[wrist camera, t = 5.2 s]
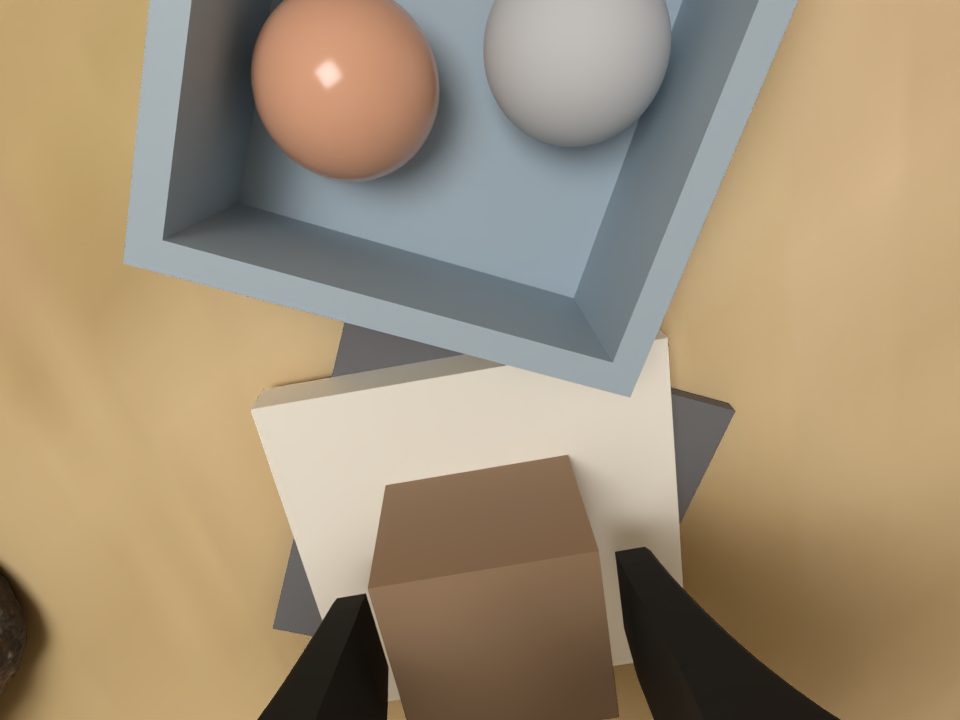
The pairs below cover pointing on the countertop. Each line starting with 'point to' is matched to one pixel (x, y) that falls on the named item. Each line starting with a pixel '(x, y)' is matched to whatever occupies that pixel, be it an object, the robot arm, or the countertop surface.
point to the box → (447, 193)
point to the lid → (480, 523)
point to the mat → (369, 350)
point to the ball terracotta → (345, 86)
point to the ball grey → (576, 65)
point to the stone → (10, 634)
